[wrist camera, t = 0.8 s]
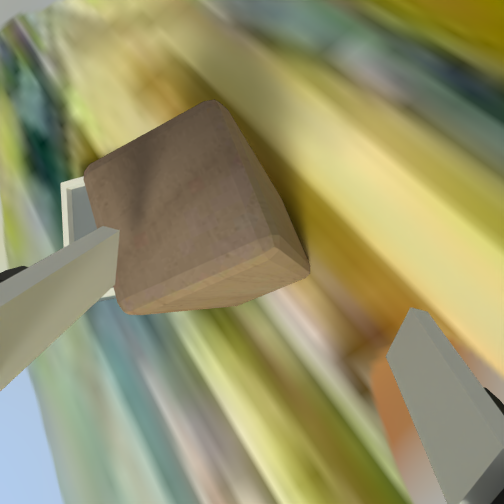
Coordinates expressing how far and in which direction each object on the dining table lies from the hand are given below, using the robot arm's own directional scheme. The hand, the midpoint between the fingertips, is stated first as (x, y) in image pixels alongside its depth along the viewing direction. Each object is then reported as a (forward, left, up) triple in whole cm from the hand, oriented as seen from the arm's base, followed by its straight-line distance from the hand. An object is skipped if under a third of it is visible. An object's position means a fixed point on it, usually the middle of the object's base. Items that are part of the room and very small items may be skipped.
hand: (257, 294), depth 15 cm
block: (+5, -6, -22) cm, 23 cm away
